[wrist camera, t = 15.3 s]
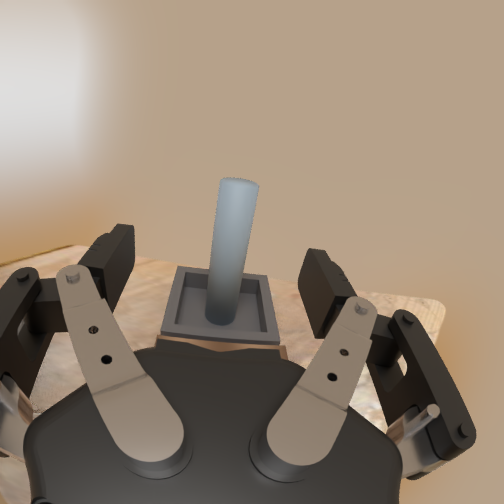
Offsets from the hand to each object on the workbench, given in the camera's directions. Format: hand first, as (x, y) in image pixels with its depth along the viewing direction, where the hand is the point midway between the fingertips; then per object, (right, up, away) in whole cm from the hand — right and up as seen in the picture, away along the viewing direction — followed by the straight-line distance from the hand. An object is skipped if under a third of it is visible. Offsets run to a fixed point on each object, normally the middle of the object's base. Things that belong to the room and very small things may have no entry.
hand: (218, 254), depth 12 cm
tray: (-2, -8, +20) cm, 22 cm away
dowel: (-2, -7, +20) cm, 21 cm away
